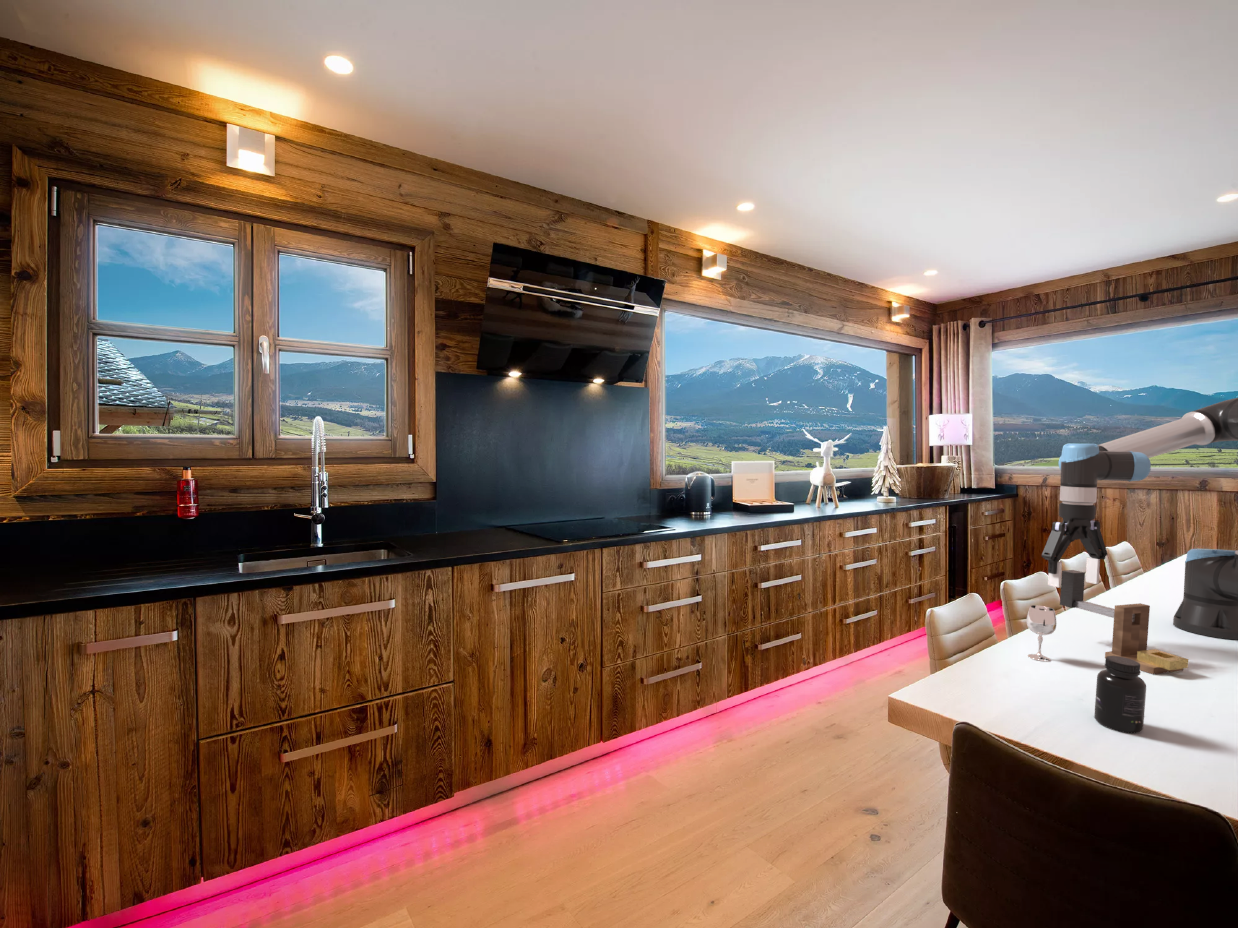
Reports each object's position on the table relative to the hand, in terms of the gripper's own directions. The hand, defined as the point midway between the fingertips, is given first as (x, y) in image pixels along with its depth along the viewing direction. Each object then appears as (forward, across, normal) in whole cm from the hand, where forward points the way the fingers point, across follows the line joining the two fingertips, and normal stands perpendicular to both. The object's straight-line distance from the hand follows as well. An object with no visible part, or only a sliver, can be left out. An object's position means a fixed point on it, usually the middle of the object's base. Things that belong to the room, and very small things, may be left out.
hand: (1073, 584), depth 154 cm
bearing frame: (+15, 0, +16) cm, 22 cm away
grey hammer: (+6, 0, +6) cm, 8 cm away
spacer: (+12, 0, +17) cm, 21 cm away
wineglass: (+14, +22, +8) cm, 27 cm away
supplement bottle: (+14, +40, +37) cm, 57 cm away
